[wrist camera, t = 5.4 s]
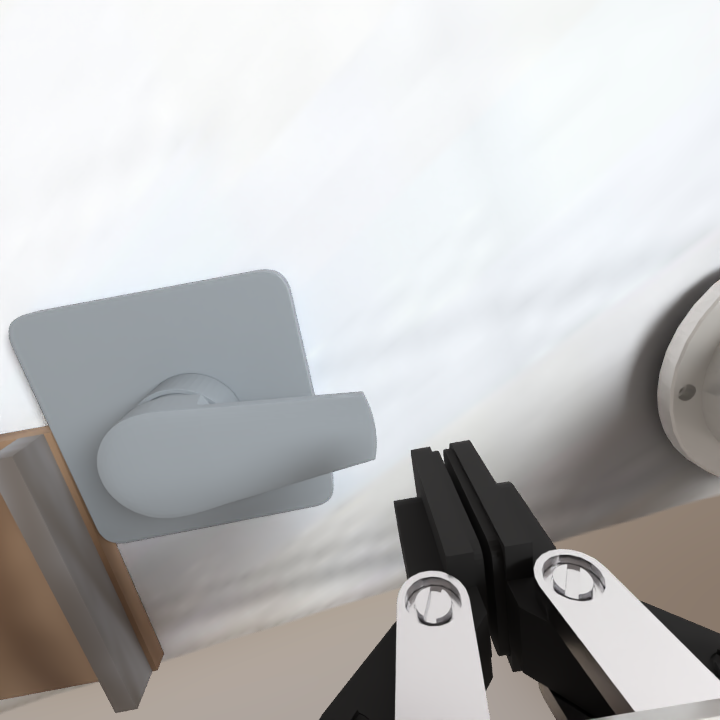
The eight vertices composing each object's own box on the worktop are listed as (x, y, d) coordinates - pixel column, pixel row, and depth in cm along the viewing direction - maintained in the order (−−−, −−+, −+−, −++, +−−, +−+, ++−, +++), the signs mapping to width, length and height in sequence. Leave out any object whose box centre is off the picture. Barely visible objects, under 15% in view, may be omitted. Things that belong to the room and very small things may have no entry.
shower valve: (399, 558, 17) (48, 627, 17) (383, 482, 23) (113, 534, 22) (346, 264, 14) (-108, 348, 13) (341, 254, 19) (14, 315, 18)
